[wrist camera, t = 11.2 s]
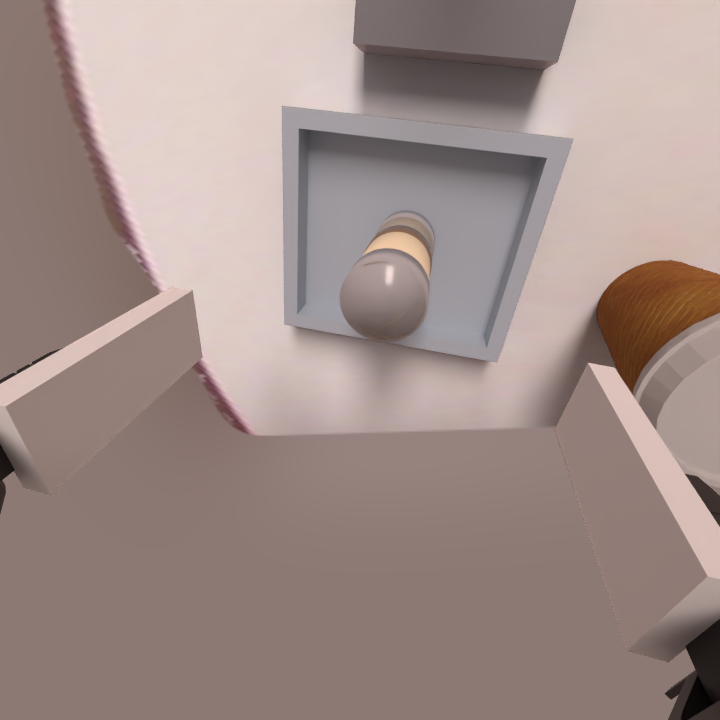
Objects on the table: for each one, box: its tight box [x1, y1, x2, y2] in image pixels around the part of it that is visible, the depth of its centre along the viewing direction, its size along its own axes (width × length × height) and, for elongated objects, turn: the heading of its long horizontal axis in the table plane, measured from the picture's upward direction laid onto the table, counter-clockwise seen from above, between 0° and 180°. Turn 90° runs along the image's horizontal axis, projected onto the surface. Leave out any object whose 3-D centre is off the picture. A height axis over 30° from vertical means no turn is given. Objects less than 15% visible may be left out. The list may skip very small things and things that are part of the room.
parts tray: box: [282, 106, 573, 362], centre depth 26 cm, size 16×14×2 cm
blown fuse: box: [340, 210, 435, 342], centre depth 22 cm, size 4×4×11 cm
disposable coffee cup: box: [597, 260, 720, 488], centre depth 21 cm, size 10×10×12 cm
